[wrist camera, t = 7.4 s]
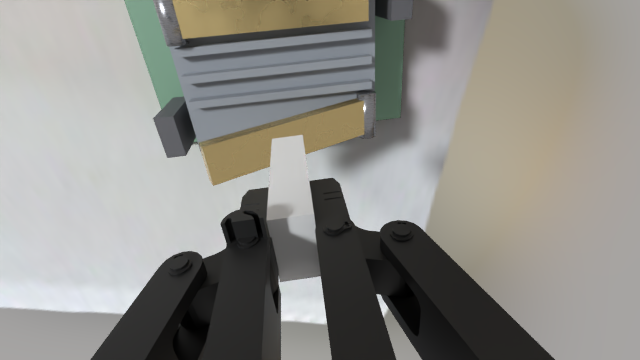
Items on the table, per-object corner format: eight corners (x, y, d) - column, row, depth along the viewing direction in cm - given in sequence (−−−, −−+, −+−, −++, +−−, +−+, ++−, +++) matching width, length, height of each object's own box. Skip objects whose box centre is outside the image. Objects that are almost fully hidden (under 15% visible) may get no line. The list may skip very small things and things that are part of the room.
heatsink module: (176, 139, 35) (155, 171, 29) (121, -25, 28) (77, -28, 22) (396, 113, 36) (420, 139, 30) (403, -52, 29) (435, -61, 23)
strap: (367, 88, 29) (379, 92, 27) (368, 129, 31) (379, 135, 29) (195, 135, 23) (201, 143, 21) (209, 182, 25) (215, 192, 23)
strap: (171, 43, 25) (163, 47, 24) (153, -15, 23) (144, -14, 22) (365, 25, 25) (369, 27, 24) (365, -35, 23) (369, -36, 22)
